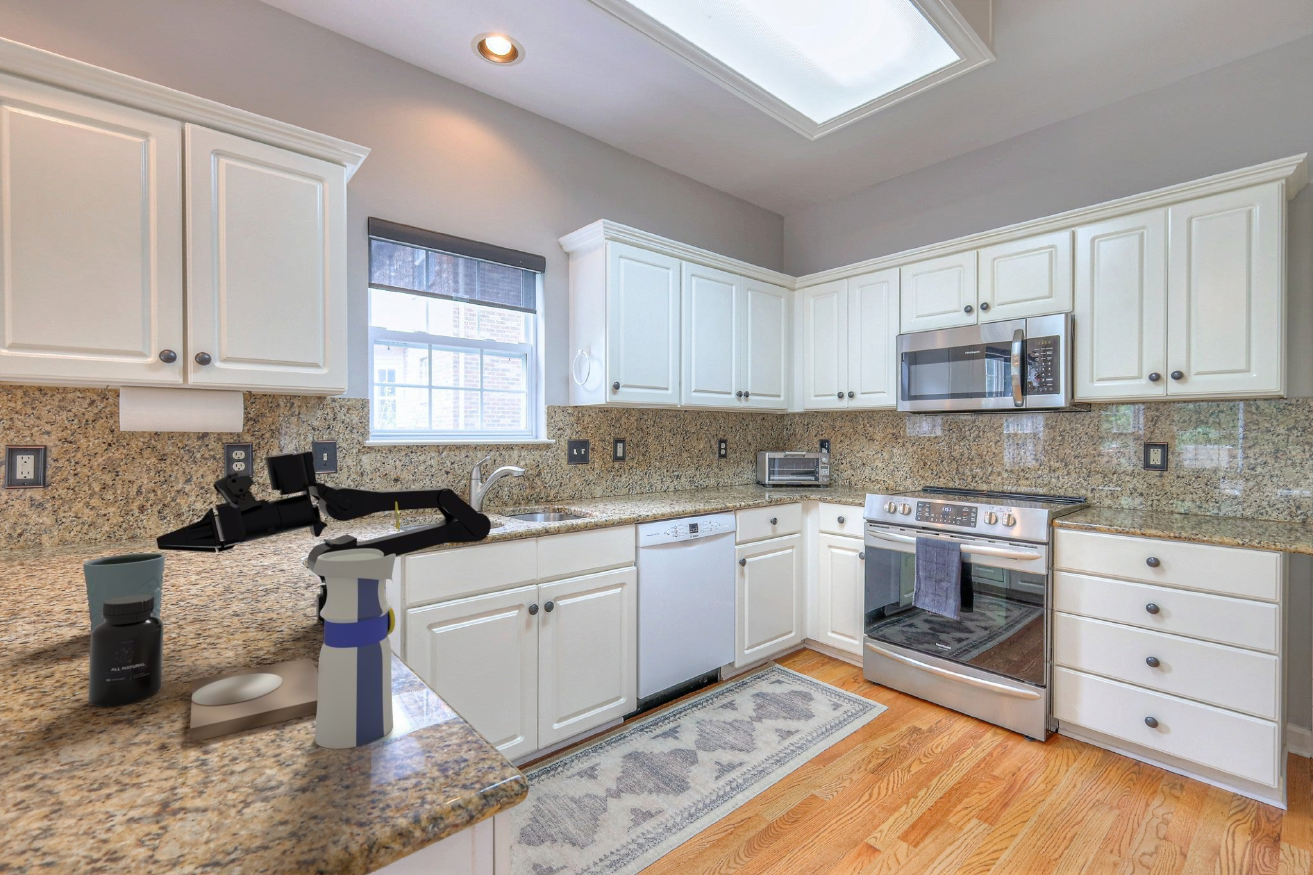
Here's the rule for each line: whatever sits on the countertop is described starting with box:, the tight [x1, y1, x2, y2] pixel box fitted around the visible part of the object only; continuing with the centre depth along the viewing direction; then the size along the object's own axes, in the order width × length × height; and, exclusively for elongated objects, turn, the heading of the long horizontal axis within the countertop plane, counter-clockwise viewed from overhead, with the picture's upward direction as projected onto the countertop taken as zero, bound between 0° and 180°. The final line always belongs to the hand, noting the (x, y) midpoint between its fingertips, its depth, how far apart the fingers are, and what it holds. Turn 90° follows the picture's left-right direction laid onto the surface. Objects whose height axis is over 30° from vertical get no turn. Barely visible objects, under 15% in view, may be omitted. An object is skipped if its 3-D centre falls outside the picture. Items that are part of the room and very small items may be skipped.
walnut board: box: [189, 657, 318, 744], centre depth 73 cm, size 13×16×2 cm
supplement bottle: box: [88, 595, 165, 708], centre depth 74 cm, size 7×7×12 cm
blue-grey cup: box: [82, 552, 166, 633], centre depth 99 cm, size 10×10×12 cm
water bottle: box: [312, 502, 401, 750], centre depth 66 cm, size 8×9×25 cm
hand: (157, 543), depth 90 cm, fingers open, 9 cm apart
